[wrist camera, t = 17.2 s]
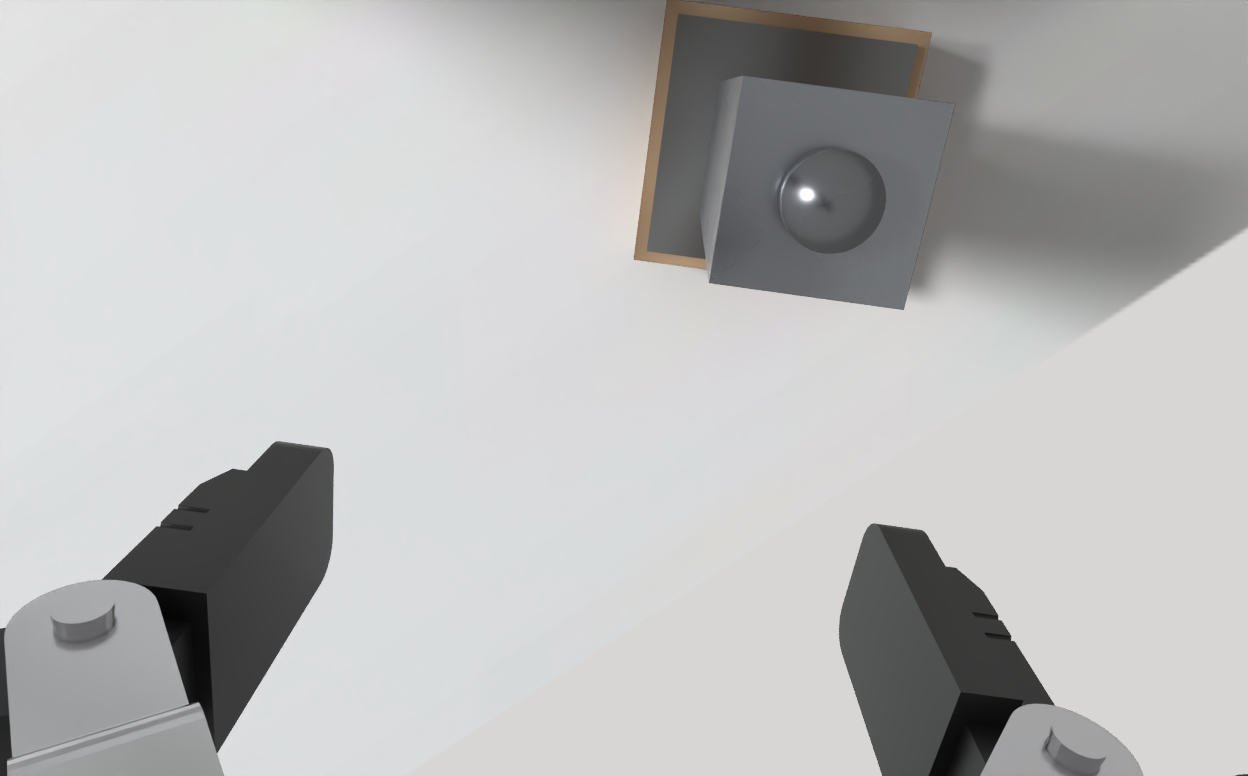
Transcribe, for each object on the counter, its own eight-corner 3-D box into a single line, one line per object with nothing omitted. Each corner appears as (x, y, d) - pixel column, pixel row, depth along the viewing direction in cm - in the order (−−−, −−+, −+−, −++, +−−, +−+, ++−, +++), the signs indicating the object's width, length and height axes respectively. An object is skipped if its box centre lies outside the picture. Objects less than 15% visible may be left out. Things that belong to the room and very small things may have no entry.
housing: (699, 212, 33) (710, 291, 20) (719, 81, 32) (746, 74, 18) (822, 229, 33) (914, 320, 20) (849, 98, 31) (969, 104, 18)
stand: (637, 246, 37) (633, 261, 34) (668, 6, 34) (666, -3, 31) (857, 276, 37) (873, 293, 34) (911, 37, 34) (934, 32, 31)
